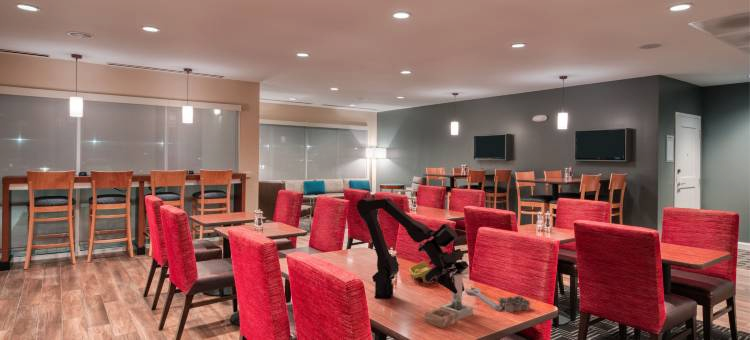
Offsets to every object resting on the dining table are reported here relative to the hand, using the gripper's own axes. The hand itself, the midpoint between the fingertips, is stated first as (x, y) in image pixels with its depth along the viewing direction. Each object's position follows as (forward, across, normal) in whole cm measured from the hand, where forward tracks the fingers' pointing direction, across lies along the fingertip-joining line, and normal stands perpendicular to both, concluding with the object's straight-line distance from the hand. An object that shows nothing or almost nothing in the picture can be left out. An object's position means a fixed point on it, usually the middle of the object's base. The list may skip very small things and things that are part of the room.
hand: (460, 292), depth 160 cm
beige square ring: (+6, -10, +6) cm, 13 cm away
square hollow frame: (+5, 0, +7) cm, 8 cm away
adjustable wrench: (+3, +20, +10) cm, 23 cm away
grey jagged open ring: (+12, +21, 0) cm, 24 cm away
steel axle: (+4, 0, +6) cm, 7 cm away
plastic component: (-21, +25, +34) cm, 47 cm away
